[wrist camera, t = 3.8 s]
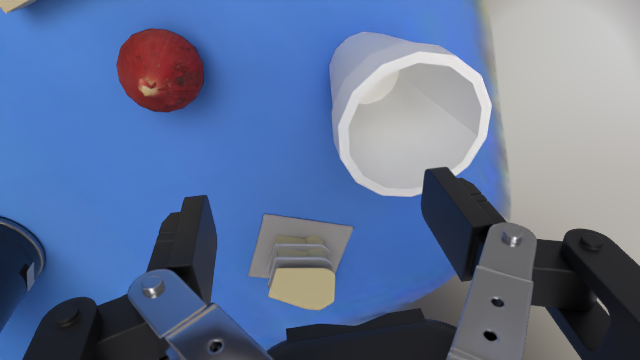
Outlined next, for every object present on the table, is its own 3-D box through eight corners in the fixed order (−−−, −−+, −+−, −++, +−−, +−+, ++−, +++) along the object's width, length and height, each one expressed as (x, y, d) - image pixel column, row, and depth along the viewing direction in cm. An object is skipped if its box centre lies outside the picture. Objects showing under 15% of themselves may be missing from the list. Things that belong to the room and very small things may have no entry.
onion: (206, 23, 31) (193, 47, 24) (209, 94, 34) (199, 133, 27) (126, 17, 30) (90, 40, 23) (137, 90, 33) (107, 131, 26)
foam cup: (306, 17, 32) (333, 62, 21) (418, 4, 32) (501, 41, 22) (316, 125, 37) (343, 207, 26) (413, 112, 38) (478, 186, 27)
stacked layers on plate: (248, 275, 45) (247, 314, 41) (264, 213, 41) (265, 249, 37) (330, 284, 48) (338, 321, 43) (353, 226, 44) (365, 261, 39)
